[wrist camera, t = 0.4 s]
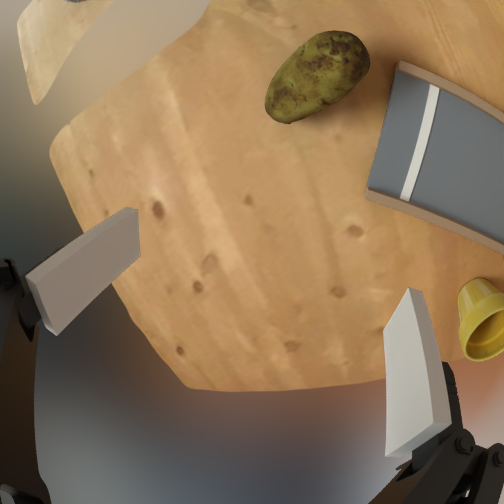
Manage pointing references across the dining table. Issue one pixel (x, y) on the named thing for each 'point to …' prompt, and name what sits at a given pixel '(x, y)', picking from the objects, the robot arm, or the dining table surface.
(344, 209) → the dining table surface
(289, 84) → the potato
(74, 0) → the stone
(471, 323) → the plant pot
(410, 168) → the lane
